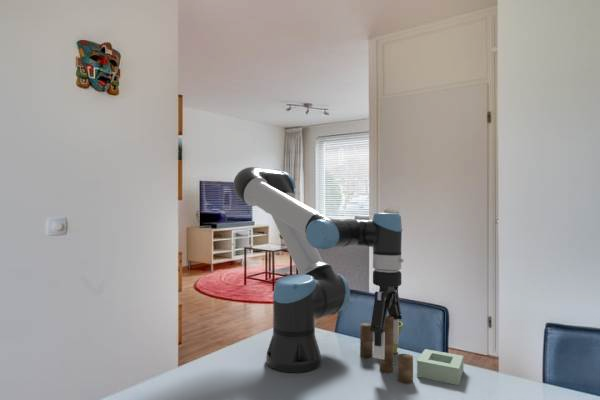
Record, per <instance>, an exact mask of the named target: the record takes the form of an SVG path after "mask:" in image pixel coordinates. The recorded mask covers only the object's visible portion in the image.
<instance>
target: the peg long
mask: <svg viewBox="0 0 600 400" xmlns="http://www.w3.org/2000/svg"><path fill="white" fill-rule="evenodd" d="M384 332H385V359H384V360H383V359H379V372H382V373H386V374H390V373H393V372H394V354H395V353H394V317H393V316H389V314H387V316H386V321H385V326H384Z"/></svg>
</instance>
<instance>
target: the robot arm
mask: <svg viewBox="0 0 600 400" xmlns="http://www.w3.org/2000/svg"><path fill="white" fill-rule="evenodd" d="M232 185H233V192H234V193H235V195H236V197H237V198H238V199H239V200H240V201H242V202H244V203H245V204H246V205H248V206H250V207H257V208H259V209H261V210H263V211H264V212H265V213H267V214H269V215H271V217H272V219H273V221H274V223H275V225H276V228H277V230H278V232H279V234H280V236H281V238H282V240H283V243H284V245H285V247H286V249H287V251H288V253H289V255H290V258H291V260H292V261H293V263H294V265H295V268H296V269H297V271H298V274H297V273H296V274H294V275H293V274H290V275H286V276H282V277H280V278H279V279H277V280H276V281H275V283H274V286H273V294H272V299H273V300H272V301H273V307H272V308H273V313H272V314H273V315H272V316H273V319H272V322H273V324H272V327H273V328H272V336H271V340H270V341H269V345H268V348H267V351H266V358H265V359H266V361H265V362H266V364H267V366H268V367H269V368H270V369H273V370H275V371H279V372H285V373H304V372H305V373H306V372H309V371H313V370H315V369H318V367H319V366H321V363H322V362H321V361H322V360H321V359H322V358H321V357H322V355H321V354H322V353H321V351H320V349H319V345H318V341H317V338H316V332H315V331H316V327H315V326H316V324H315V323H316V319H320V318H323V317H327V316H331V315H333V316H334V315H335V314H336V313H338V312H342V311H343V310H344V309H345V308H346V307H347V306H348V304H349V301H350V298H351V297H350V296H351V289H350V285H349V283H348V281H347V279H346V277H344V276H343V275H341V274H339V273H335V271H334V270H333V267H332V265H331V264H330V263H327V262H324V260H323V258H322V256H321V254H320V252H319V251H318V249H319V250H320V249H322V250H328V249H334V248H336V249H337V248H342V247H343V248H346V247H369V248H370V247H371V248H372V253H373V254H372V268H373V271H372V284H373V285H374V286H378V287H379V288H378V289H379V290H378V291H375V292H374V303H373V308H372V315H371V321H370V324H371V328H370V332H373V357H372V358H373V359H379V360H380V359H383V360H384V359H385V332H384V326H385V321H386V316H387V315H388V316H393V317H394V343H395V344H399V340H400V334H399V321H400V320H402V317H403V316H402V315H401V314H402V311H401V304H400V296H399V287H400V286H401V285H402V272H401V271H400V270H401V269H402V263H403V262H404V258H402V233H403V228H402V216H401V214H399V213H395V212H374V213H373V214H372V215H373V217H372V219H356V218H355V219H354V218H345V219H341V218H340V219H335V218H334V219H333V218H331V217H329V216H327V215H325V214H324V213H322V212H320V211H318V210H317V209H314V208H312V207H310V206H309V205H307V204H306V203H303V202H302V201H300V200H297V199H296V196H295V193H296V190H295V188H296V184H295V180H294V179H293V177H292V175H291V174H289V173H288V172H286V171H283V170H280V169H269V168H262V167H257V166H256V167H255V166H250V167H246V168H243V169H241V170H240V171H239V172H238V173H237V174H236V175H235V177H234V180H233V184H232ZM377 326H378V327H377Z"/></svg>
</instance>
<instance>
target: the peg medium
mask: <svg viewBox="0 0 600 400" xmlns="http://www.w3.org/2000/svg"><path fill="white" fill-rule="evenodd" d="M359 326H360V329H359V330H360V331H359V332H360V337H359V338H360V339H359V340H360V342H359V349H360V350H359V357H361V358H363V359H372V358H373V332H370V328H371V323H367V322H365V323H360V324H359Z"/></svg>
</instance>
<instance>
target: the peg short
mask: <svg viewBox="0 0 600 400" xmlns="http://www.w3.org/2000/svg"><path fill="white" fill-rule="evenodd" d="M397 357H398V358H397V360H398V361H397V365H398V366H397V381H398V382H400V383H402V384H406V385H407V384H408V385H410V384H413V382H414V356H413V355H411V354H410V353H399V354H398V355H397Z"/></svg>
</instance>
